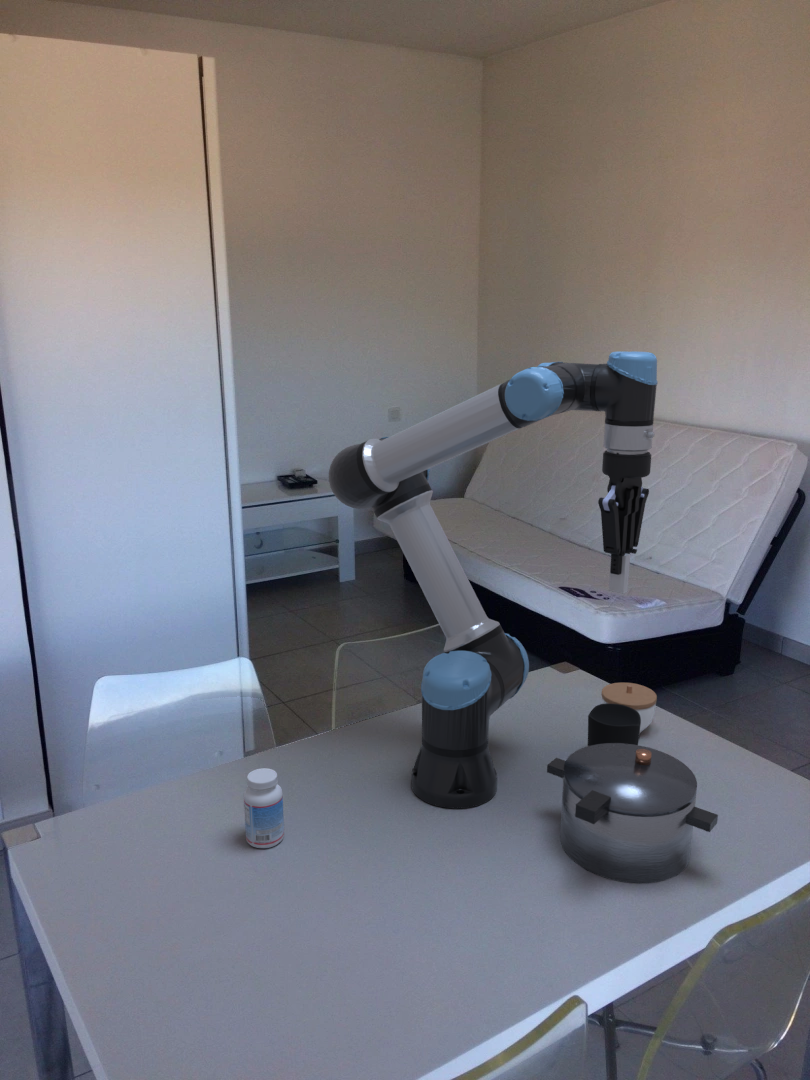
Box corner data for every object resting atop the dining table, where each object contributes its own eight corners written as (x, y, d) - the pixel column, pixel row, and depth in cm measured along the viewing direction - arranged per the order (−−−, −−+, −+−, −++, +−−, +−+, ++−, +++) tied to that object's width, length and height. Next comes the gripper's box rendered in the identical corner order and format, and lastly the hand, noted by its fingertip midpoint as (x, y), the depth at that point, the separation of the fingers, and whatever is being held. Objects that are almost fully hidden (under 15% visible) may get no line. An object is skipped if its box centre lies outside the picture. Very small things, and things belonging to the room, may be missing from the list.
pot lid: (524, 797, 131) (524, 781, 131) (599, 738, 150) (600, 723, 149) (650, 848, 119) (652, 829, 118) (716, 776, 138) (717, 760, 137)
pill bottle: (291, 833, 141) (289, 770, 139) (270, 853, 136) (267, 788, 133) (259, 824, 144) (257, 762, 141) (238, 844, 139) (234, 780, 136)
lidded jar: (655, 743, 171) (659, 699, 169) (599, 738, 173) (602, 694, 171) (652, 719, 181) (655, 677, 179) (599, 714, 183) (601, 672, 181)
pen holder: (647, 770, 161) (651, 720, 158) (604, 780, 158) (608, 729, 155) (617, 747, 169) (620, 700, 167) (575, 756, 166) (578, 708, 163)
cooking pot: (517, 840, 140) (520, 778, 137) (577, 788, 155) (581, 732, 152) (682, 911, 123) (688, 842, 120) (731, 846, 138) (738, 783, 136)
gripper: (629, 458, 133) (619, 605, 139) (667, 448, 142) (657, 586, 148) (585, 452, 138) (578, 595, 144) (625, 443, 147) (616, 578, 153)
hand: (618, 591), depth 146 cm, fingers closed
